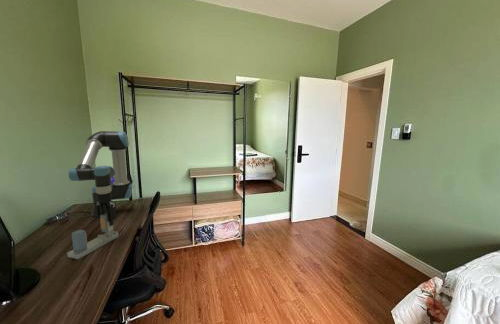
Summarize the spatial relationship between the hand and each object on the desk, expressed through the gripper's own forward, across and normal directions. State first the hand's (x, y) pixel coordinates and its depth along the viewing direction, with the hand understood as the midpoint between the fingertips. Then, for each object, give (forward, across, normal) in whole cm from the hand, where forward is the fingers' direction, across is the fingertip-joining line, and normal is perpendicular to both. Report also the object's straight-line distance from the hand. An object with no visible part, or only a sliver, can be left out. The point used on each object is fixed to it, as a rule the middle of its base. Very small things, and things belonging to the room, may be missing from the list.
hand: (107, 229), depth 123 cm
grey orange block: (0, 0, 0) cm, 0 cm away
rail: (+6, 0, +8) cm, 10 cm away
